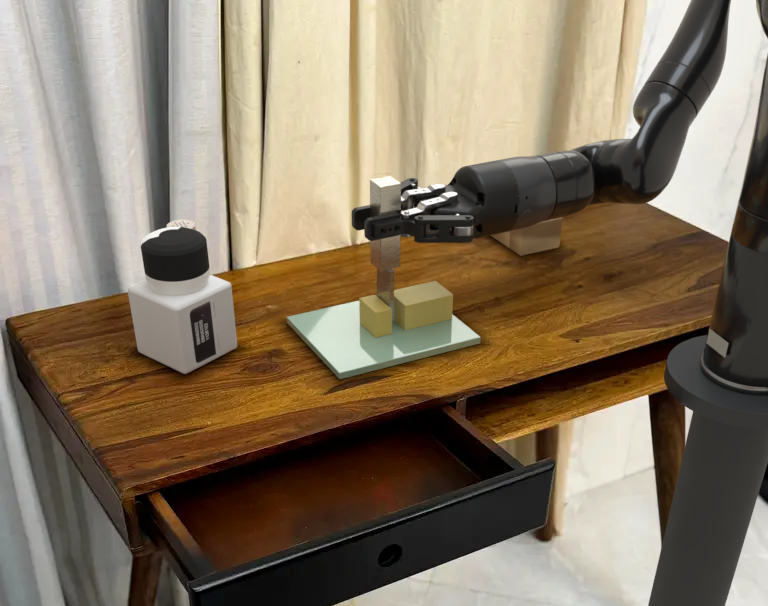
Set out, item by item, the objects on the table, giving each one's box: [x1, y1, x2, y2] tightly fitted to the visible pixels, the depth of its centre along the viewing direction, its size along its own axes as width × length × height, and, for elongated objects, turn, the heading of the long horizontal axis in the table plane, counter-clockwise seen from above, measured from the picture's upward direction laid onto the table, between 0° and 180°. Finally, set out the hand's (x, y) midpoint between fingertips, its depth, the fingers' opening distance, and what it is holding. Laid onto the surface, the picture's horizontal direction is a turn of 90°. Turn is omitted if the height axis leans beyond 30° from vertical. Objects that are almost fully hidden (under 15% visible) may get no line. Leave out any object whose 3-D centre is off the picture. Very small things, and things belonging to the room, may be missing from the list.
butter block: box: [394, 280, 454, 330], centre depth 109 cm, size 4×6×3 cm, turn 117°
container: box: [127, 226, 238, 375], centre depth 102 cm, size 8×8×13 cm
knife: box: [369, 175, 402, 321], centre depth 104 cm, size 3×2×15 cm
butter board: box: [286, 300, 482, 380], centre depth 109 cm, size 14×17×1 cm
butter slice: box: [358, 294, 392, 337], centre depth 107 cm, size 4×2×3 cm, turn 27°
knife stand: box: [490, 217, 564, 257], centre depth 129 cm, size 10×6×4 cm, turn 27°
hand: (360, 225), depth 100 cm, fingers closed on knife, 2 cm apart
